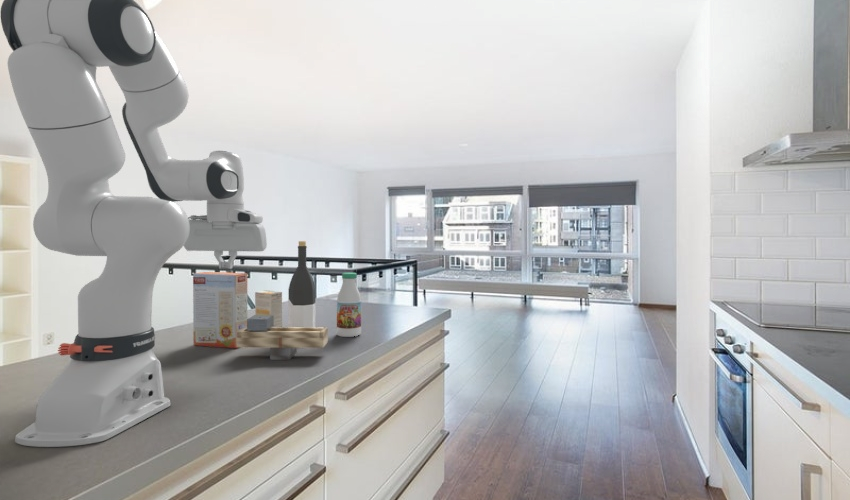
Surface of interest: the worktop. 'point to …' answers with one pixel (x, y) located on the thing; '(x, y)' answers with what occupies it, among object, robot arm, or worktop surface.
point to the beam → (284, 340)
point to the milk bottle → (349, 307)
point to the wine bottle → (301, 293)
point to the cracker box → (219, 308)
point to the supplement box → (269, 305)
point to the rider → (260, 323)
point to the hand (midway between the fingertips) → (225, 268)
